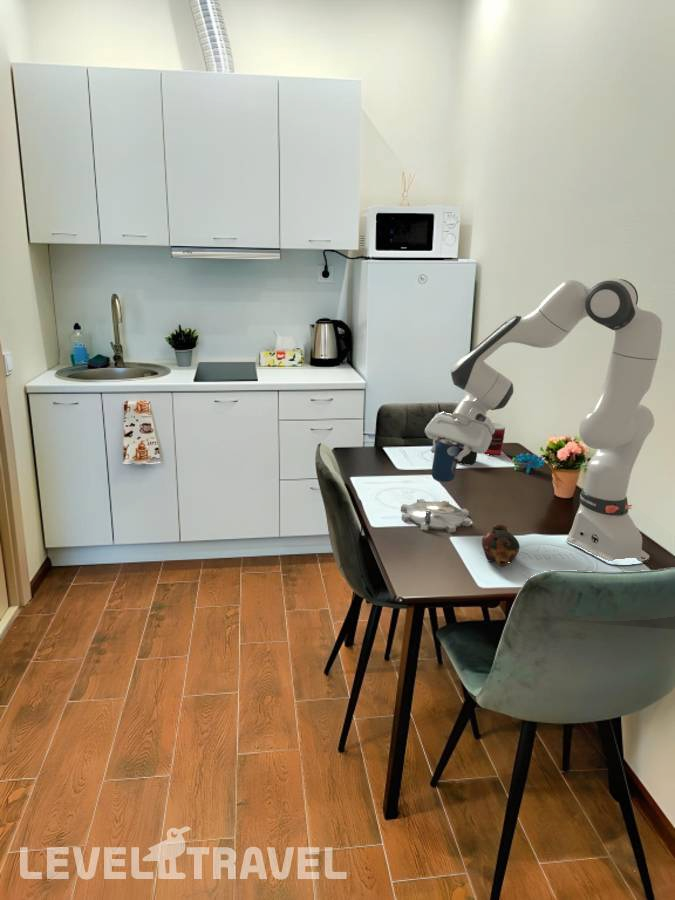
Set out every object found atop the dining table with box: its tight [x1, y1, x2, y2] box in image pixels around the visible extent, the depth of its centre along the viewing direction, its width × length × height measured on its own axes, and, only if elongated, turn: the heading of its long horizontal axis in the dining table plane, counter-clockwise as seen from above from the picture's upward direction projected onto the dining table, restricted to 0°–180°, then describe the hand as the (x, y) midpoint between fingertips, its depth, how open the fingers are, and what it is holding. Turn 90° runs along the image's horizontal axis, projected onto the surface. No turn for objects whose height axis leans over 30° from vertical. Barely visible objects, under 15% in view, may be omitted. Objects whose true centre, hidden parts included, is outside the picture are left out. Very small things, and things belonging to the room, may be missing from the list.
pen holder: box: [457, 447, 478, 465], centre depth 251 cm, size 9×9×10 cm
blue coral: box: [512, 452, 545, 475], centre depth 244 cm, size 11×6×10 cm
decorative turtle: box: [481, 522, 521, 567], centre depth 176 cm, size 10×15×8 cm, turn 178°
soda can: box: [430, 438, 460, 484], centre depth 199 cm, size 7×7×12 cm
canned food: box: [483, 422, 506, 456], centre depth 262 cm, size 8×8×11 cm
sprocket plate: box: [400, 498, 472, 534], centre depth 200 cm, size 21×21×4 cm
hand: (445, 456), depth 198 cm, fingers closed on soda can, 7 cm apart
